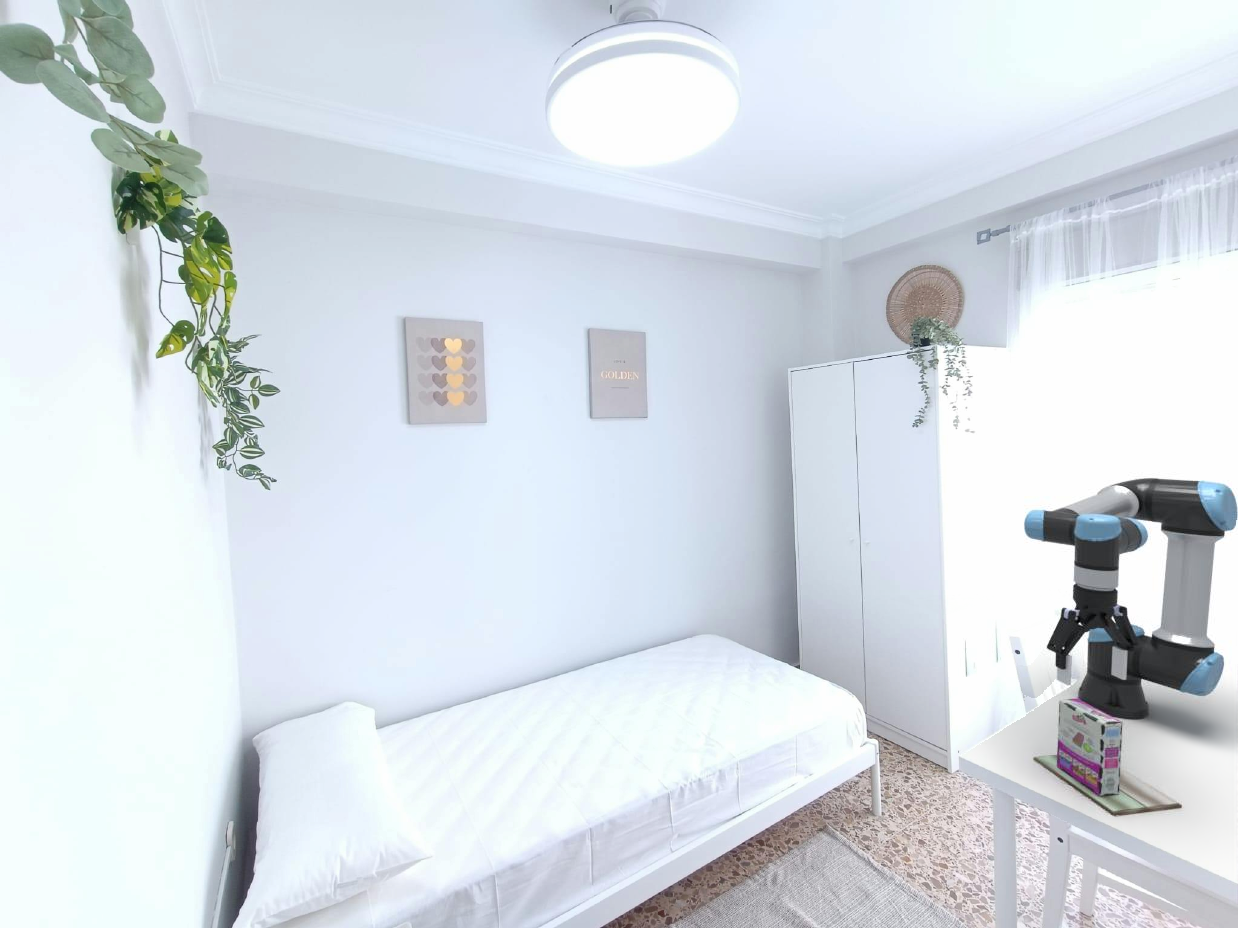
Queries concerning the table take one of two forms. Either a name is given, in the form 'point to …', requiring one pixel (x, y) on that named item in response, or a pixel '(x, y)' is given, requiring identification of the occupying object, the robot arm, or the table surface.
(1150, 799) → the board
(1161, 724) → the table surface
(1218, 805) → the table surface
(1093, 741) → the candy bar box
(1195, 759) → the table surface
